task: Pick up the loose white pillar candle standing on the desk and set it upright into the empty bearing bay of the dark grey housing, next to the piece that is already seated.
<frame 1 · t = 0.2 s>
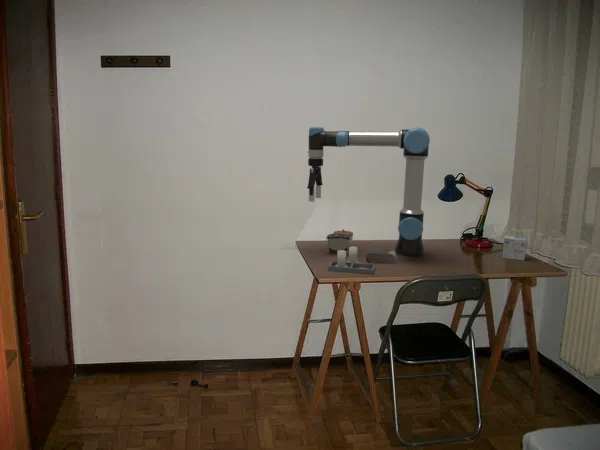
hand: (314, 199, 260), 28 cm above the table, fingers open, 13 cm apart
light bulb box: (513, 258, 259), on the table
geological specimen: (381, 261, 251), on the table
food container: (338, 253, 263), on the table
housing: (351, 269, 234), on the table
lidded jar: (342, 246, 278), on the table
white pillar candle: (352, 263, 245), on the table
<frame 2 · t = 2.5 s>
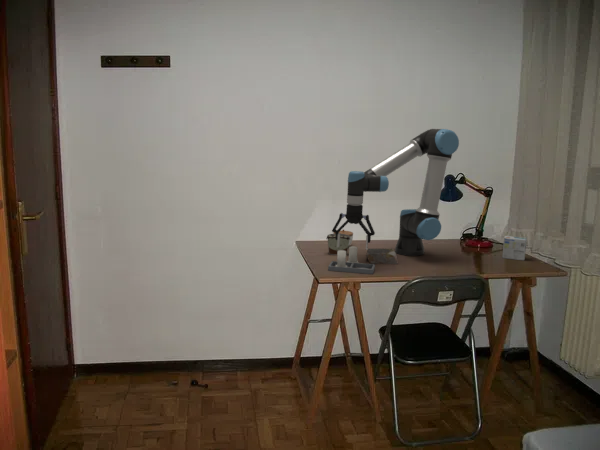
hand: (352, 248, 243), 8 cm above the table, fingers open, 13 cm apart
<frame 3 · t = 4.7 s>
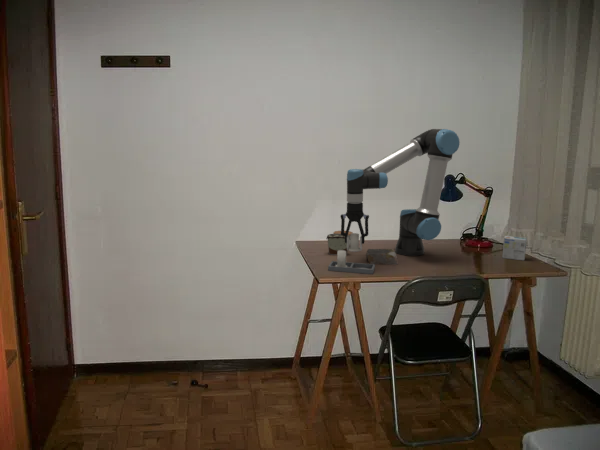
hand: (354, 249, 243), 7 cm above the table, fingers closed on white pillar candle, 5 cm apart
white pillar candle: (354, 250, 243), point 6 cm above the table, touching gripper
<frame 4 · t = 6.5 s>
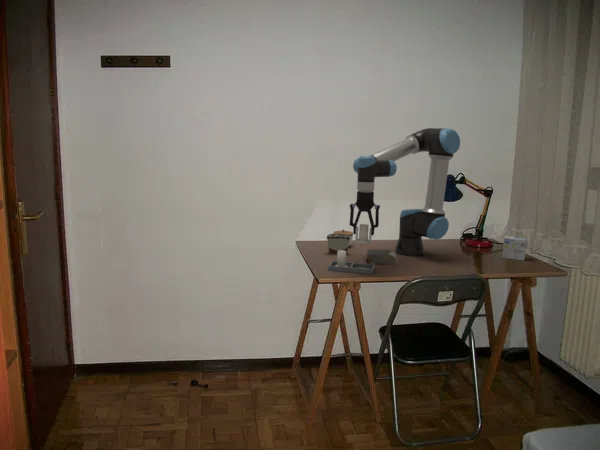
hand: (363, 241, 230), 14 cm above the table, fingers closed on white pillar candle, 5 cm apart
white pillar candle: (363, 242, 231), point 13 cm above the table, touching gripper
when the fingers open (2 cm above the table, at t = 8.7 s): white pillar candle drops 2 cm, resting on housing.
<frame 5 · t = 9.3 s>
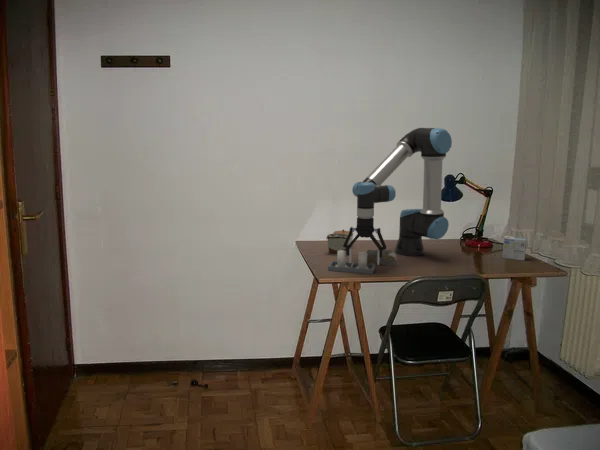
hand: (364, 263, 232), 3 cm above the table, fingers open, 12 cm apart
white pillar candle: (362, 269, 233), resting on housing
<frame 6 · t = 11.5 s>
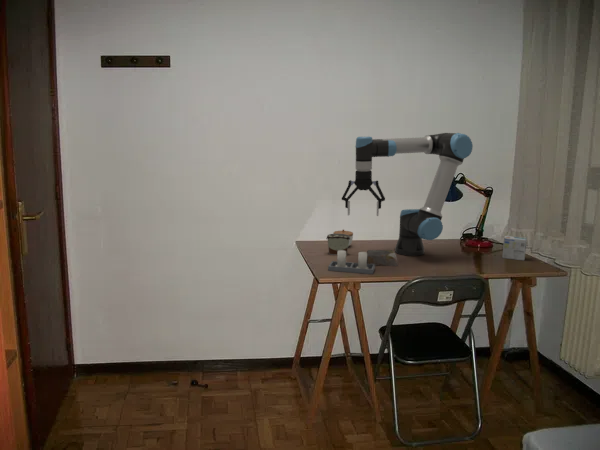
hand: (363, 215, 239), 24 cm above the table, fingers open, 13 cm apart
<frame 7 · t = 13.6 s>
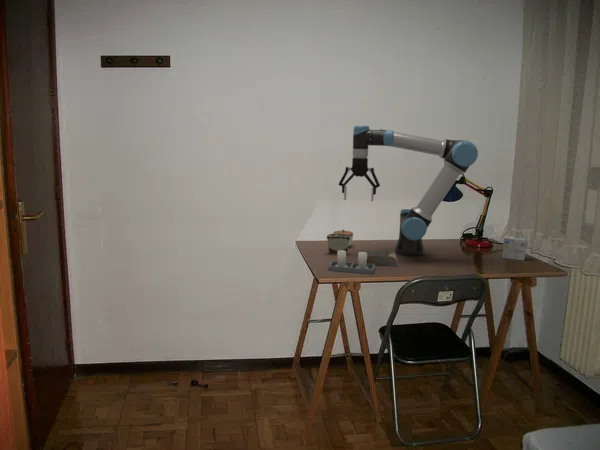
hand: (358, 200, 252), 29 cm above the table, fingers open, 13 cm apart
at the end: white pillar candle inside the target area on the housing (0.0 cm from its centre), point 0.3 cm above the housing's base; white pillar candle tilted 0°; the gripper is holding nothing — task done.
